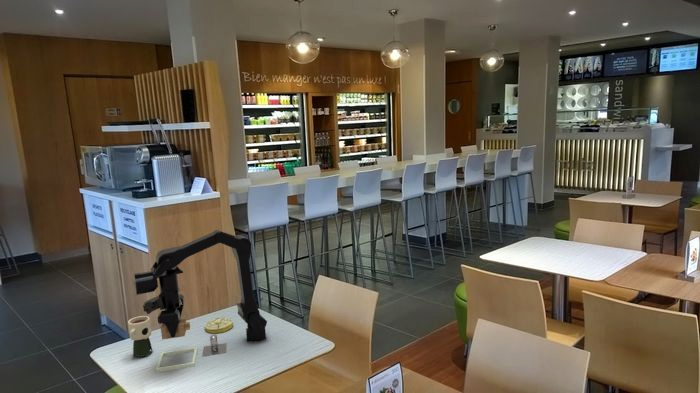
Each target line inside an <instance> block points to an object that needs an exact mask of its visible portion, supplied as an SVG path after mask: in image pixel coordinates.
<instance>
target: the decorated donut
mask: <svg viewBox="0 0 700 393" xmlns="http://www.w3.org/2000/svg"><path fill="white" fill-rule="evenodd" d="M233 325H234V322H233V319H231V318H227V317H217V318H214V319H211V320H208V321H207V322H206V323H205V324H204V327H203V328H204V329H205V332H206V333H208V334H211V335H217V334H223V333H226V332H228V331H230V330H231V329H232V328H233Z"/></svg>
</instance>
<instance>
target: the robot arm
mask: <svg viewBox="0 0 700 393" xmlns="http://www.w3.org/2000/svg"><path fill="white" fill-rule="evenodd" d="M218 244H222V245H225V246H227V247H228V248H229V247H230V248H231V251H232V254H233V256H234V259H235V261H236V267H237V274H238V280H239V281H238V282H239V289H240V296H241V298H240V299H241V300H240V302H237V303H236V307H237V314H238V316H239V317H240V318H241V319H242V320H243V321H244V323H246V324H247V328H245V333H246V334H245V335H246V341H247V342H250V343H251V342H252V343H258V342H262V341H264V340H267V334H266V332H267V331H266V327H267V324H268V321H267V320H266V318H265V317H264V316H262V315H261V313H260V310H259V307H258V305H257V302H256V299H255V297H254V288H253V282H252V274H251V273H252V272H251V271H252V270H251V266H250V259H251V255H252V242H251V240H250V239H249V238H247V237H245V236H243V235H241V234H236V235H233V234H231V233H227V232H225V231H222V230H220V229H215V230H214V231H212V232H210V233H208V234H206V235H203V236H201V237H198V238H196V239H195V240H191V241H189V242H187V243H185V244H183V245H180V246H173V247H169V248H164V249H161V250H159V251H158V252H157V253H156V255H155V262H153V265H152V266H151V268H150V271H146V272H145V271H144V272H136V273H133V278H134V280H133V281H134V282H133V286H134V292H135V296H140V295H143V294H148V293H153V292H156V291H157V288H159V291H160V292H159V294H158V295H156V296H155V297H152V298H150V299H148V300H146V301H144V303H143V305H142V308H143V312H145V313H146V314H147V315H150V314H151V313H152V312H155V311H156V310H158V309H159V310H160V312H159V313H158V316H157V324H161V325H162V324H165V325H166V326H167V328H168V331H169V333H170V335H171V337H175V334H176V331H177V327H178V323H179V320H180V317H182V313H183V310H184V305H185V300H186V299H185V296H184V295H183V294H181V293H180V291H181V289H180V287H179V281H178V275H180V274H181V275H182V274H183V273H184V270H183V269H182V268H180V267H179V265H180V264H181V263H182V262H183V261H185V260H186V259H187V258H190V257H191V256H194V255H195V254H198V253H201V252H202V251H204V250H207V249H210V248H211V247H213V246H216V245H218ZM158 281H159V282H158Z"/></svg>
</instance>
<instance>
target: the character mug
mask: <svg viewBox="0 0 700 393" xmlns="http://www.w3.org/2000/svg"><path fill="white" fill-rule="evenodd" d="M127 325H128V332H129V334H128V335H129V338H130V340H131V341H133V342H132V344H133V345H132V346H133V348H132V355H133V356H135V357H146V356H148V355H150V354H151V352H153V348H152V343H151V340H150V337H151V335H152V329H151V319H150V316H147V315H140V316H136V317H132V318H130V319H129V320H128V321H127Z"/></svg>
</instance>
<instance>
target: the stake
mask: <svg viewBox="0 0 700 393" xmlns="http://www.w3.org/2000/svg"><path fill="white" fill-rule="evenodd" d="M209 342H210V345H205V346H203V347H202V348H203V349H202V355H201V356H202V358H203V357H211V356H215V355H222V354H226V353H227V342H225V343H218V336H217V334H211V335H210V336H209Z"/></svg>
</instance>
